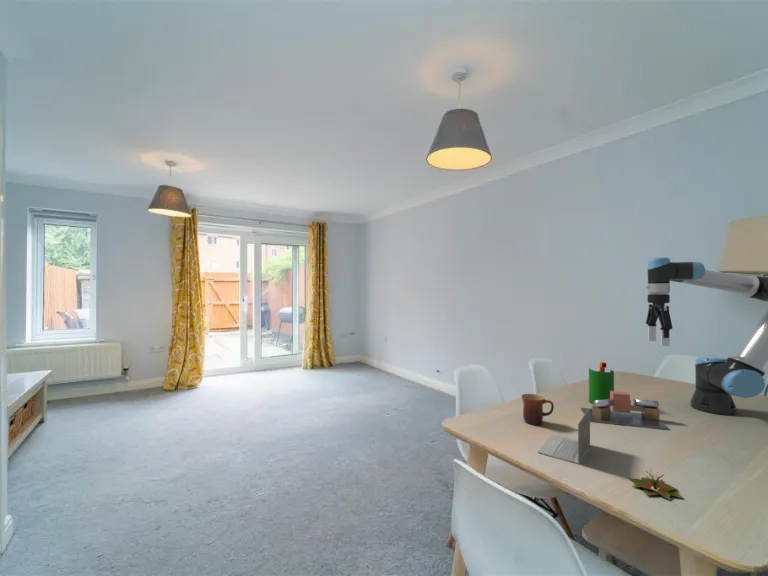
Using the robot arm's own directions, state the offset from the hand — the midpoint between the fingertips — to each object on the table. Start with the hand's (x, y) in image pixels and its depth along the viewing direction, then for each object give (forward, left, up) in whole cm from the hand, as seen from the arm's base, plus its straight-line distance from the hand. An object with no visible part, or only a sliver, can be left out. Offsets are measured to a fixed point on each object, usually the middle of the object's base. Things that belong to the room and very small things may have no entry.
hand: (658, 343), depth 152 cm
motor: (+19, -9, -31) cm, 37 cm away
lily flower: (+24, +67, -31) cm, 77 cm away
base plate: (+16, +11, -31) cm, 36 cm away
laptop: (+43, +48, -31) cm, 72 cm away
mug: (+50, +26, -31) cm, 64 cm away
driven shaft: (+23, +13, -30) cm, 40 cm away
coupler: (+16, +8, -28) cm, 33 cm away
